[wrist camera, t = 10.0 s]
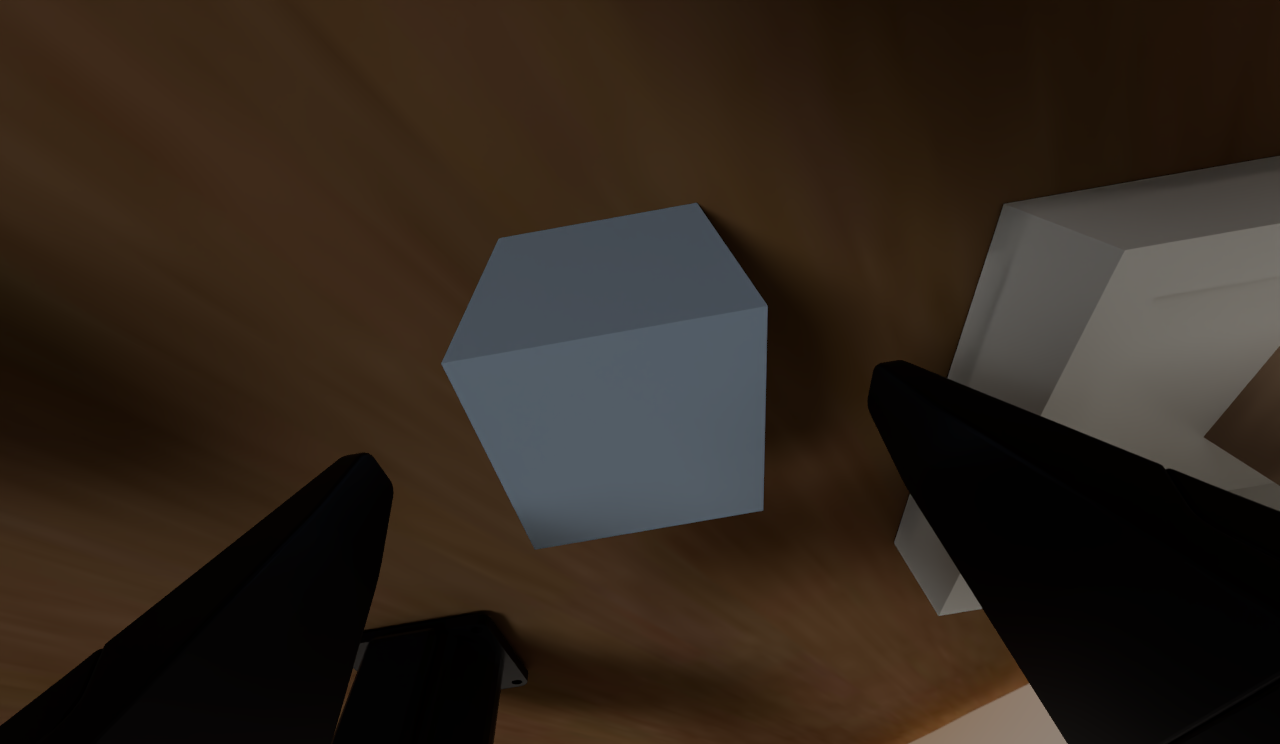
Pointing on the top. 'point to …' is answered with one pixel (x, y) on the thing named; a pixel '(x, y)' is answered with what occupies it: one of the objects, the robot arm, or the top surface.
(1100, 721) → the robot arm
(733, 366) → the slate block
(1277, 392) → the walnut block
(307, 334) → the top surface
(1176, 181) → the tray
